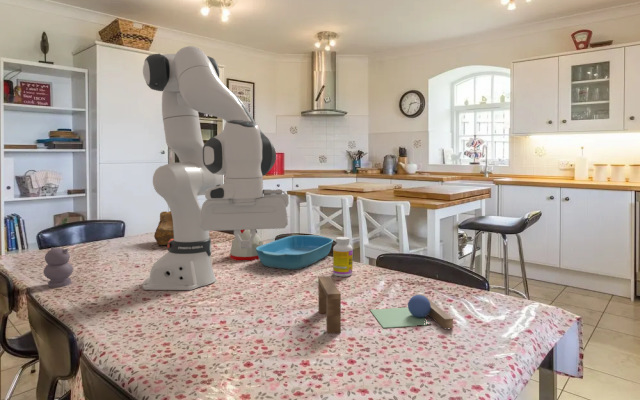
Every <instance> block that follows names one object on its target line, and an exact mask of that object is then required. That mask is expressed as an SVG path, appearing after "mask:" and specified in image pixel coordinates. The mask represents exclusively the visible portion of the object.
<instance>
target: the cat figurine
mask: <svg viewBox="0 0 640 400" xmlns="http://www.w3.org/2000/svg"><path fill="white" fill-rule="evenodd" d="M44 260H45V263H46V264H47V265H46V266H44V269H43V275H44V276H45V278H47V279H48V281H47V286H48V287H49V288H53V289H54V288H62V287H66V286H70V285H72V278H70V276H71V275H72V274H73V271H74V267H73V265H72V264H71V263H70V262H69V261H70V253H69V248H68V247H67V248H62V247H51V248H50V250H48V251H47V252H46V254H45V255H44Z"/></svg>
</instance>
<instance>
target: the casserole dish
mask: <svg viewBox="0 0 640 400" xmlns="http://www.w3.org/2000/svg"><path fill="white" fill-rule="evenodd" d="M333 242H334V239H333V238H330V237H327V236H323V235H315V234H313V235H312V234H311V235H309V234H308V235H307V234H305V235H304V234H302V235H301V234H300V235H299V234H296V235H289V236H286V237H282V238H278V239H276V240H273V241H270V242H268V243H263V245H261V246H259V247H257V248H256V251H257V254H258V257H259V259H258V260H259V261H260V263H261V264H262V265H264V266H265V267H269V268H274V267H275V269H284V270H300V269H303V267H304V268H306V267H308V266H310V265H313V264H315V263H316V262H318V261H320V260H322V259H324V258H325V257H327V256H328V255H329V254H330V252H331V249H332V248H333V246H332V245H333Z"/></svg>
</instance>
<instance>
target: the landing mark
mask: <svg viewBox="0 0 640 400" xmlns="http://www.w3.org/2000/svg"><path fill="white" fill-rule="evenodd" d="M369 311H370V312H371V314H372V315H373V316H374V318H375V319H376V320H377V322H378V323H379V325H380V326H381V327H382V328H383V329H390V328H391V329H393V328H405V327H406V328H408V327H407V326H410V327H418V326H417V325H424V323H425V325H424V326H428V325H427V324H428V323H427V324H426V320H427V319H426V318H425V317H422V318H418V317H415V316H413V315H412V314H411V313H410V311H409V309H408V306H407V307H405V306H404V307H392V308H378V309H377V308H375V309H370V310H369ZM425 319H426V320H425ZM424 321H425V322H424ZM427 322H429V323H431V322H430V321H429V320H428V321H427Z"/></svg>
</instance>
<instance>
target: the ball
mask: <svg viewBox="0 0 640 400" xmlns="http://www.w3.org/2000/svg"><path fill="white" fill-rule="evenodd" d="M425 296H426V295H425ZM425 296H422V295H420V294H415V295H413V296H412V297H411V298H409V300H408V303H407V307H408V309H409V311H410V313H411V314H412V315H413V316H415V317H418V318H422V317H424V318H425V317H426V316H429V315H428V313H429V312H430V309H431V305H430V302H429V300H428V299H429V298H428V297H427V296H426V297H427V298H428V299H427V298H426V297H425Z"/></svg>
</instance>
